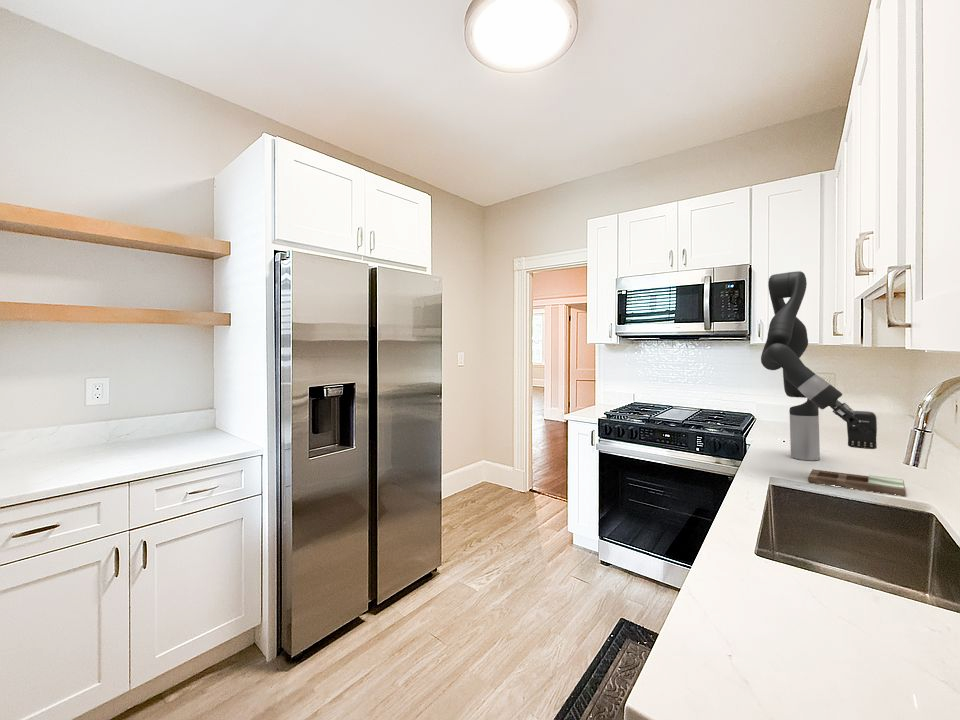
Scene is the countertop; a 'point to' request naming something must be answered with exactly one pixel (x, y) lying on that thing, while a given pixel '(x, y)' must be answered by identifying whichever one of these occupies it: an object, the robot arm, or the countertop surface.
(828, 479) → the board
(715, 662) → the countertop surface
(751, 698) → the countertop surface
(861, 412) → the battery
